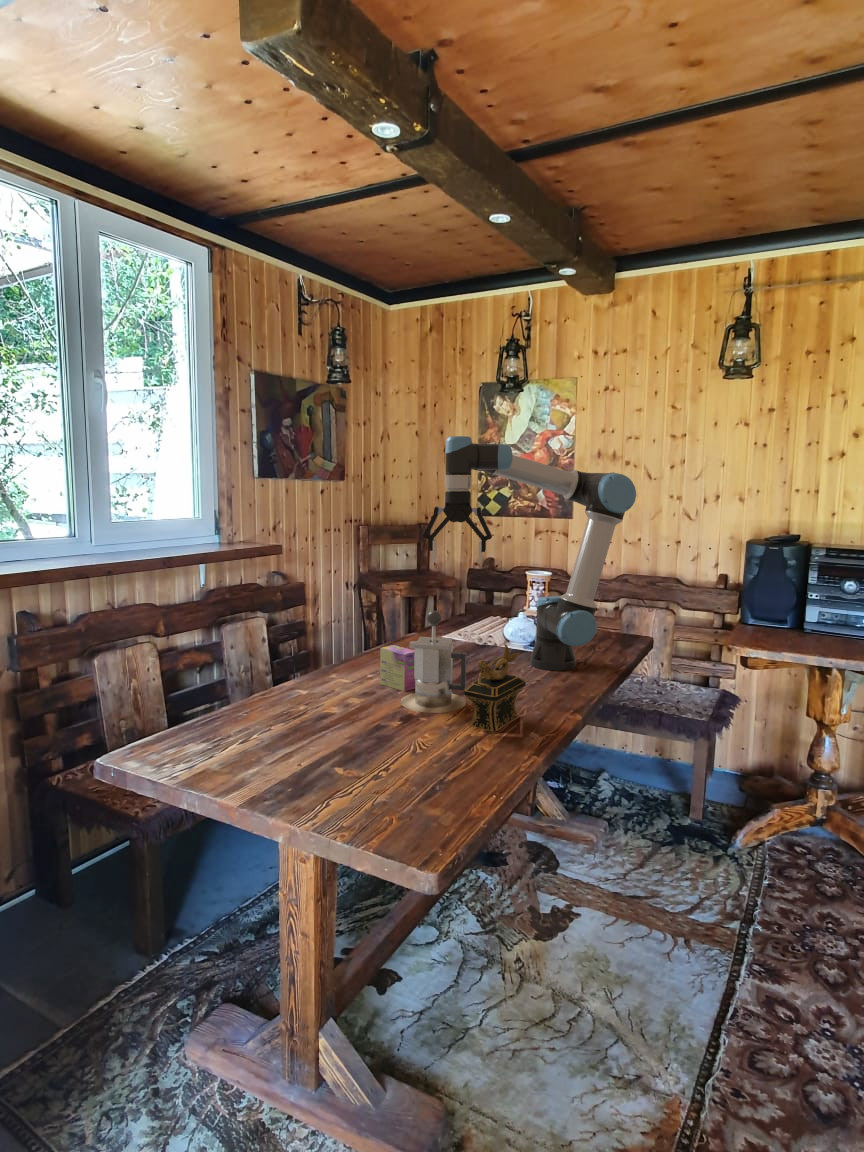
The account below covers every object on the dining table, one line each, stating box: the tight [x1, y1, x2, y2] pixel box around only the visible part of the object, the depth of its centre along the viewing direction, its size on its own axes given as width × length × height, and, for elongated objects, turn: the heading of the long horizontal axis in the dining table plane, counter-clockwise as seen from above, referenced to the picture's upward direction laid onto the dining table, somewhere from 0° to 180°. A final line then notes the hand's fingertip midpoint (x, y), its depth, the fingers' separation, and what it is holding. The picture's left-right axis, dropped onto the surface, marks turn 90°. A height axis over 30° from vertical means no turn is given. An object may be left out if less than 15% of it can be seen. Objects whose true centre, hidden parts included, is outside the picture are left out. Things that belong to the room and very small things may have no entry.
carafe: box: [408, 636, 467, 708], centre depth 191 cm, size 15×10×17 cm, turn 82°
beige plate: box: [400, 692, 467, 714], centre depth 192 cm, size 18×18×1 cm
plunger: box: [426, 610, 442, 642], centre depth 190 cm, size 4×4×17 cm
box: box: [379, 644, 415, 692], centre depth 206 cm, size 10×6×12 cm, turn 47°
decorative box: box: [463, 642, 527, 735], centre depth 178 cm, size 20×10×20 cm, turn 146°
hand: (457, 562), depth 207 cm, fingers open, 13 cm apart
